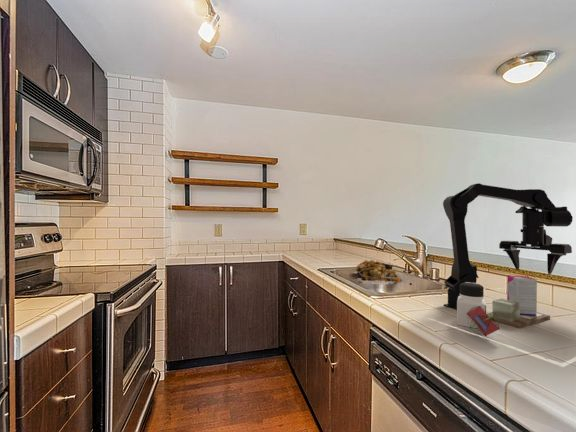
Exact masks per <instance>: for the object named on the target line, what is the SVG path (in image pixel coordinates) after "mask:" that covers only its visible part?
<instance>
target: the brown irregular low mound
mask: <svg viewBox="0 0 576 432" xmlns="http://www.w3.org/2000/svg"><path fill="white" fill-rule="evenodd" d="M393 267H394V264H391V263H385V262H383V261H378V260H376V261H375V260H373V259H371V260H367V259H366V260H363V261H362V262H360V263H359V264H357V265H356V268H355V271H354V272H351V274H358V277H360V278H359V279H358V280H357V281H356V283H357V284H361V285H363V284H364V285H374V284H375V285H394V284H395V285H397V284H401V282H403V280H402V279H401V278H400V276H398V274H396V271H395V270H393ZM409 285H410V286H413V282H409Z"/></svg>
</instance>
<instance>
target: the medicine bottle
mask: <svg viewBox="0 0 576 432" xmlns="http://www.w3.org/2000/svg"><path fill="white" fill-rule="evenodd" d="M475 306H481V307H482V308H483V310H484V311H485V313H486V314H487V302H486V299H485V298H484V287H483V285H481V284H479V283H477V282H476V283H470V282H465V283H461V284H460V296H458V300H457V309H456V325H457V326H460V327H467V328H469V327H470V326H471V327H472V326H473V325H475V324H474V322H473V321H472V319H471V318H470V317H469V316H468V315H467V314H466V313H467V312H468V311H469V310H470V309H471V308H472V307H475ZM485 308H486V309H485ZM467 317H468V318H467ZM470 319H471V320H470ZM468 322H469V323H468ZM471 322H473V323H472V324H471ZM471 327H470V328H471ZM476 327H477V325H476ZM476 327H475V326H474V327H472V328H471V329H477V328H478V327H477V328H476ZM478 329H479V328H478ZM478 329H477V330H478ZM479 330H480V329H479Z"/></svg>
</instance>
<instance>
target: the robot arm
mask: <svg viewBox="0 0 576 432" xmlns="http://www.w3.org/2000/svg"><path fill="white" fill-rule="evenodd" d="M478 197H483V198H492V199H497V200H503V201H508V202H511V203H514V204H516V205H519V206H520V207H519V208H518V209H516V210H515V214H522V216H521V217H522V228H521V229H520V233H522V240H521V241H518V240H501V241H500V242H499V245H498V246H499V247H498V248H499V249H502V250H503V252H505V253H506V254H507V256H508V257H509V258H510V260H511V262H512V264H513V266H514V268H515V270H517V271H518V270H520V253H521V249H525V250H539V251H548V252H550V253H547V254H546V256H547V258H546V259H547V260H546V261H547V265H546V266H547V273H548V275H551V274H552V273H553V271H554V268H555V266H556V264H557V262H558V261H559V260H560V259H561V257H564V256H567V254H572V253H573V250H572V249H573V248H572V246H571V244H568V243H553V238H552V237H551V236H550V235H548V234H547V230H546V228H545V227H561V228H563V227H567V228H568V227H569V226H571V224H572V222H573V215H572V213H571V212H570V211H569V210H568V206H556V205H555V204H554V203H553V202H552V201H551V199H550V198H549V197H548V194H547V193H546V191H545V190H543V189H539V188H537V189H536V188H535V189H533V188H532V189H531V188H529V189H513V188H506V187H500V186H493V185H487V184H482V183H480V182H479V183H473V184H471V185H469V186H467V188H465V189H463V190H461V191H460V192H458V193H455V194H454V195H449V196H447V197H446V198H445V199H444V200H443V202H442V207H443V209H444V213H445V215H446V217H447V218H448V220H449V226H450V234H451V236H450V237H451V242H452V253H453V263H452V266H451V272H450V273H451V274H450V276H449V277H448V278H446V279H445V280H444V285H445V287H446V288H447V303H444V304H443V306H444V307H446V308H450V309H454V310H457V300H458V296H460V284H461V283H465V282H470V283H477V281H478V279H479V276H478V266H477V265H474V264H472V263H471V262H470V257H469V250H468V249H469V248H468V239H467V233H466V232H467V231H466V224H465V223H466V222H465V220H466V216H467V213H468V209H469V208H468V204H471V203H472V202H473V201H474V200H475V199H476V198H478ZM540 210H541V211H540ZM529 245H530V246H529Z"/></svg>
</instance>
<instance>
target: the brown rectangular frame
mask: <svg viewBox="0 0 576 432" xmlns="http://www.w3.org/2000/svg"><path fill="white" fill-rule="evenodd" d="M488 313H489V314H490V315H493V314H495V313H496V314H495V315H494V316H495V317H494V316H493V318H492V319H491V320H492V321H493V322H496V323H500V324H504V325H508V326H511V327H514V328H517V329H522V328H525V327H528V326H532V325H535V324H537V323H541V322H544V321H547V320H550V319H551V315H550V314H546V313H541V312H538V311H537V316H526V315H520V302H515V301H511V300H507V298H498V299H494V300H492V312H491V313H490V312H488ZM488 313H486V314H487V315H488V316H490V315H489V314H488ZM493 319H494V320H495V321H494V320H493ZM497 320H498V321H497Z"/></svg>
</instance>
